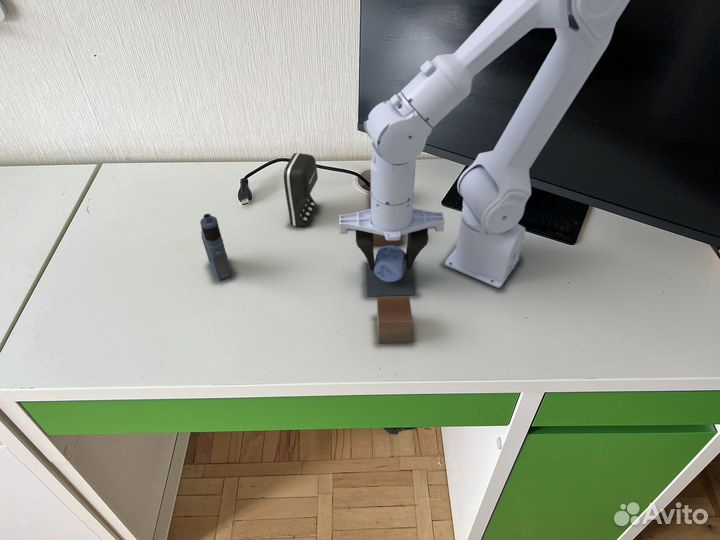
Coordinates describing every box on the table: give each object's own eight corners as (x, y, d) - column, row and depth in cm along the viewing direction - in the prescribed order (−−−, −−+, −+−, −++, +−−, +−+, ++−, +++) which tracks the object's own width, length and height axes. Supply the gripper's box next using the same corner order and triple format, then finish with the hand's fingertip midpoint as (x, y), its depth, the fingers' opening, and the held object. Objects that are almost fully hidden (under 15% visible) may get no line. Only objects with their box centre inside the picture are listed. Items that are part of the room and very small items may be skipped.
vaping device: (218, 283, 82) (200, 223, 74) (208, 262, 85) (190, 203, 77) (234, 277, 83) (218, 218, 74) (224, 257, 86) (208, 198, 78)
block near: (410, 342, 73) (412, 321, 70) (378, 343, 73) (378, 322, 70) (408, 317, 77) (409, 296, 73) (376, 318, 77) (377, 297, 73)
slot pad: (414, 295, 80) (414, 294, 80) (367, 296, 80) (367, 295, 80) (410, 263, 85) (410, 262, 84) (366, 264, 85) (366, 263, 84)
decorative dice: (399, 284, 79) (400, 265, 77) (373, 279, 80) (374, 260, 77) (405, 266, 82) (406, 247, 79) (380, 261, 83) (380, 242, 80)
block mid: (400, 245, 88) (401, 224, 84) (373, 245, 88) (373, 225, 84) (398, 227, 91) (399, 206, 88) (372, 228, 91) (372, 207, 88)
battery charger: (310, 230, 91) (304, 174, 83) (289, 227, 91) (281, 171, 83) (322, 205, 95) (317, 150, 87) (302, 202, 96) (295, 147, 88)
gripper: (337, 212, 68) (341, 285, 77) (451, 209, 68) (441, 283, 77) (337, 180, 73) (341, 252, 82) (443, 177, 73) (435, 250, 82)
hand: (389, 265), depth 80 cm, fingers closed on decorative dice, 5 cm apart
